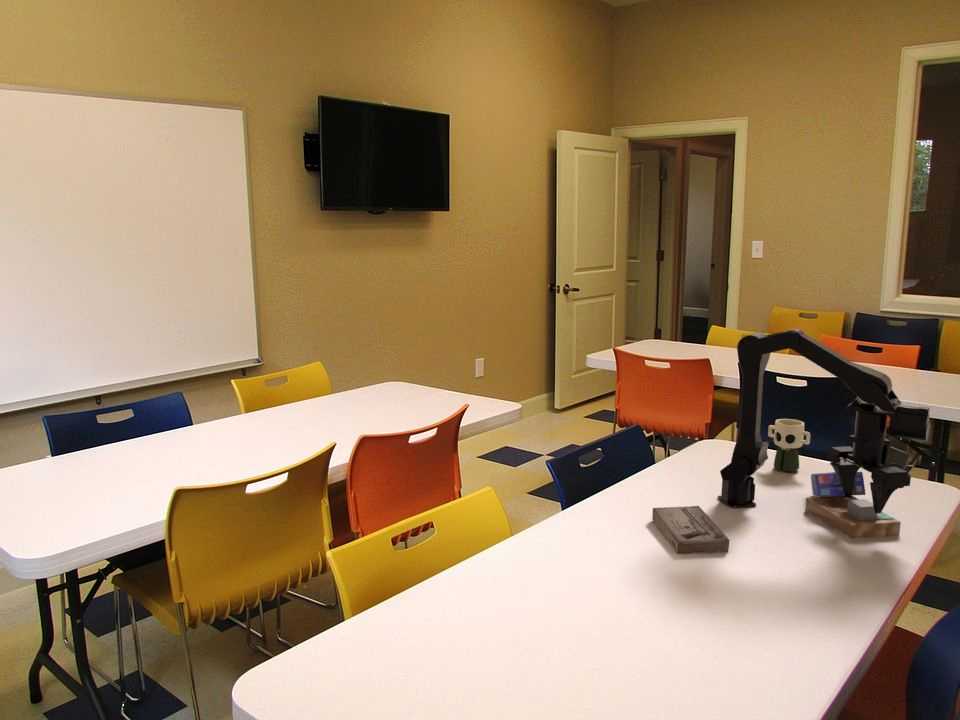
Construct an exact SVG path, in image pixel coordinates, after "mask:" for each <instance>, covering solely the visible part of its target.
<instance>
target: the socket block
mask: <svg viewBox="0 0 960 720" xmlns="http://www.w3.org/2000/svg"><path fill="white" fill-rule="evenodd" d="M848 500H860V499H859V498H858V497H856V496H855V495H853V496H851V497H846V496H835V497H818V496H813V497H812V496H810V497H808V496H807V497H806V499H805V511H806V512H808V513H809V514H811V515H813V516H814V517H816V518H817V519H819V520H820V521H822V522H824V523H826V524H827V525H829V526H830V527H831V528H834V529H835V530H836V531H838V532H840V533H841V534H843V535H844V536H846V537H848V538H849V539H850V540H856V539H857V540H858V539H867V538H868V539H869V538H882V537H895V536H900V532H901V523H902V522H901V521H900V520H899V519H896V518H895V517H892V516H891V515H889V514H887V513H885V512H884V511H882V512H881V513H877V521H867V522H858V521H856V520H854V519H853V518H851V517H849V516H848V515H847V507H848Z"/></svg>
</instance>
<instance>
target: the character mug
mask: <svg viewBox="0 0 960 720" xmlns="http://www.w3.org/2000/svg"><path fill="white" fill-rule="evenodd" d="M773 430H774V432H773ZM767 434H768V435H767V436H768V437H770V438H771V439H772V438H773V442H774V444H775V446H777V447H778V448H777V449H776V452H775V456H774V461H773V468H775V469H777V470H779V471H780V470H781V469H782V468H783V470H782V471H783V472H796V471H797V470H799V469H800V458H799V457H800V455H799V450H798V448H801V447H802V446H803V445H810V443H811V433H810V432H809V431H805V422H804V421H801V420H799V419H792V418H791V419H790V418H779V419H776V420H775V422H774V424H773V425H772V424H770V425H768V431H767ZM805 436H806V437H805ZM804 437H805V439H804Z"/></svg>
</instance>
